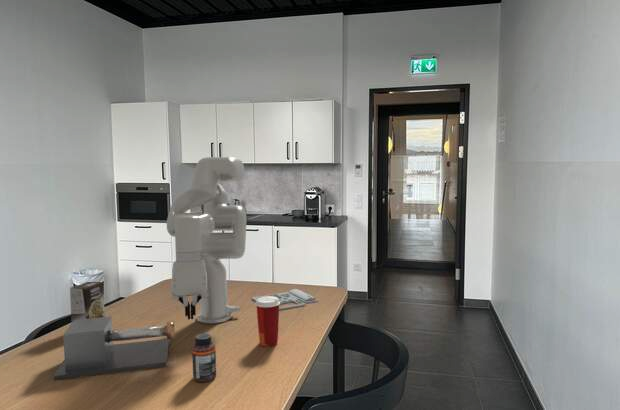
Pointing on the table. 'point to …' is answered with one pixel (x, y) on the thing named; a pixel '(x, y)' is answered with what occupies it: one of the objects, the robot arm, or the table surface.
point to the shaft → (142, 333)
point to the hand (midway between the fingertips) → (190, 317)
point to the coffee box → (87, 301)
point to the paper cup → (268, 320)
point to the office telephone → (292, 298)
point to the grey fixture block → (106, 351)
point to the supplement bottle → (204, 358)
